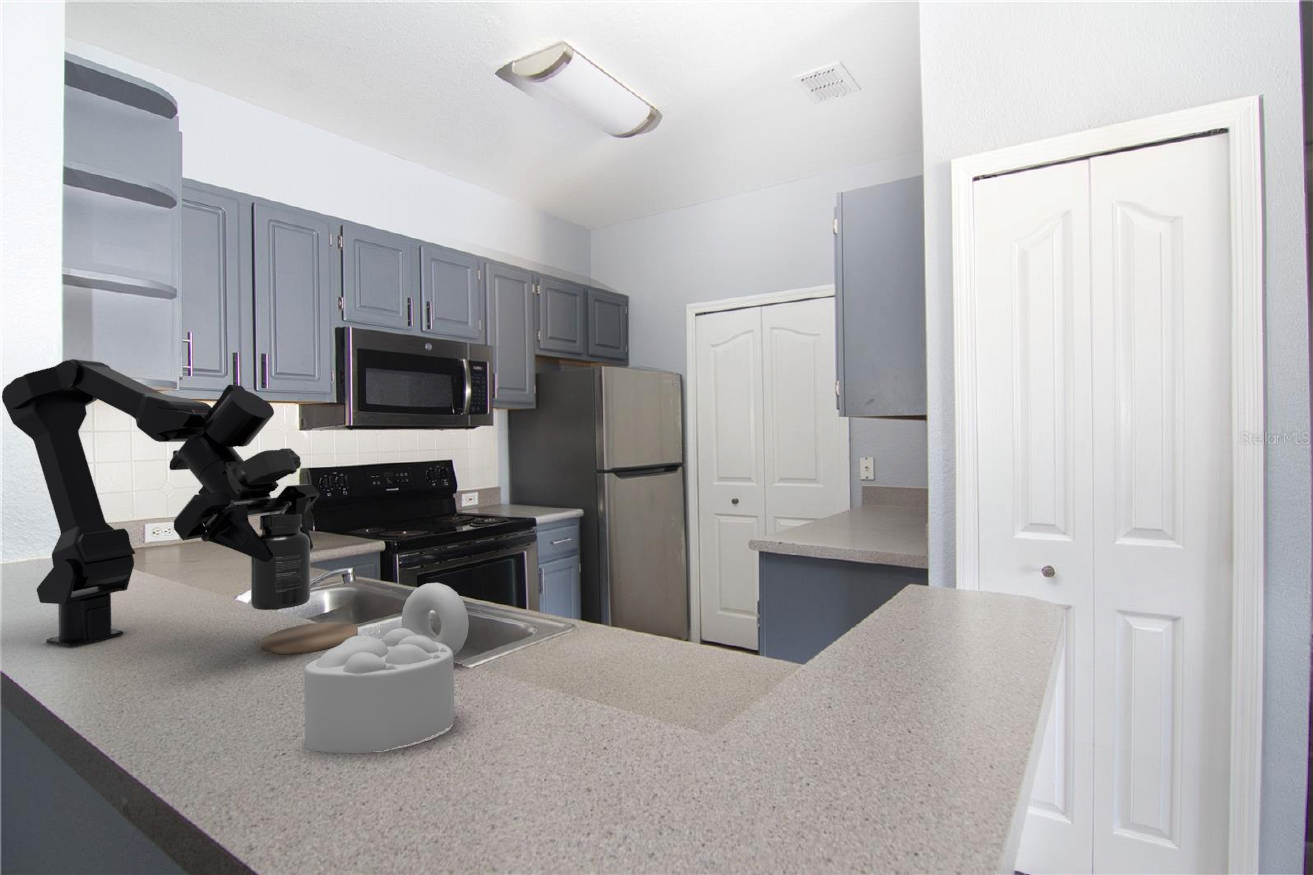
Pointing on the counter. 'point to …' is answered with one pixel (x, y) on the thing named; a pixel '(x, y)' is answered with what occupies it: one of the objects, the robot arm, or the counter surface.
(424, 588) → the donut
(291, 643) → the walnut trivet
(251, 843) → the counter surface
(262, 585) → the supplement bottle
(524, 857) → the counter surface
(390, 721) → the lumpy-topped squat cylinder
